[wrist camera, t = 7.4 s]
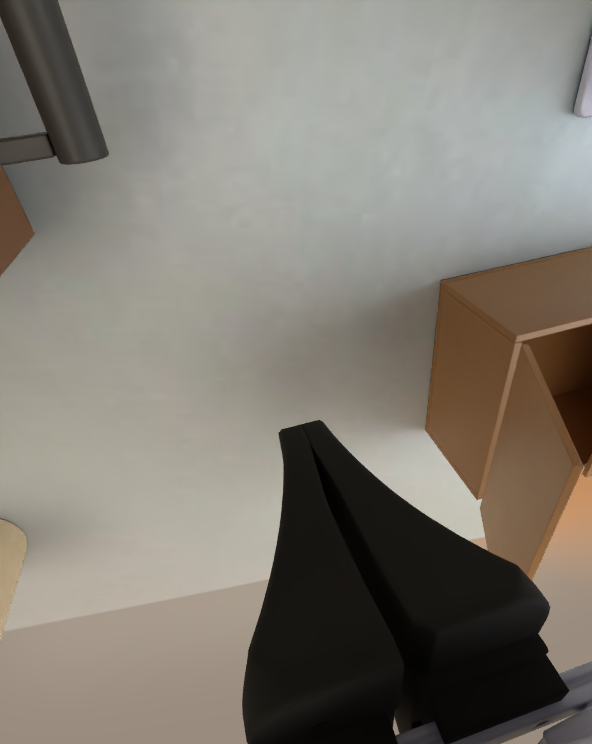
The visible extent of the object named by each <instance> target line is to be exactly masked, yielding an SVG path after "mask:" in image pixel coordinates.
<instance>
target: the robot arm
mask: <svg viewBox="0 0 592 744" xmlns="http://www.w3.org/2000/svg"><path fill="white" fill-rule="evenodd" d="M574 113H575V115H576V116H577V117H583V118H587V117H592V37H591V41H590V45H589V50H588V54H587V58H586V62H585V66H584V70H583V74H582V78H581V82H580V86H579V90H578V94H577V99H576V103H575V107H574ZM279 438H280V444H281V450H282V456H283V464H284V480H283V499H282V511H281V520H280V527H279V534H278V540H277V546H276V551H275V556H274V561H273V566H272V570H271V575H270V579H269V583H268V587H267V591H266V594H265V598H264V602H263V606H262V609H261V613H260V616H259V619H258V622H257V625H256V629H255V632H254V635H253V638H252V641H251V644H250V647H249V650H248V659H247V665H246V672H245V680H244V687H243V700H242V706H243V707H242V709H243V720H244V726H245V733H246V740H247V743H248V744H501V743H503V742H506V741H508V740H511V739H513V738H516V737H518V736H521V735H523V734H526V733H528V732H531V731H533V730H536V729H539V728H541V727H544V726H546V725H549V724H551V723H554V722H556V721H559V720H561V719H564V718H566V717H569V716H571V715H573V716H571V717H569V718H568V719H566V720H564V721H562V722H560V723H558V724H557V725H554V726H553V727H551V728H549V729H547V730H545V731H544V732H543V738H542V739H541V740H540V742H539V743H538V744H592V662H589V663H586V664H583V665H581V666H578V667H576V668H573V669H570V670H568V671H565V672H562V673H560V674H558V672H557V671H556V669H555V668H554V666H553V665H552V663H551V661H550V660H549V659H548V657H547V655H546V654H547V653H548V648H547V646H546V644H545V643H544V641H543V640H542V639H541V637H540V636H539V634H538V633H539V631H540V630H541V627H542V626H543V624H544V623H545V621H546V619H547V617H548V614H549V611H550V606H549V603H548V601H547V600H546V598H545V597H544V596H543V594H542V593H541V592H540V590H539V589H538V588H537V586H536V585H535V584H534V583H533V582H532V581H531V580H530V578H529V577H528V576H527V575H526V574H525V573H524V572H523V571H522V570H521V568H520V567H519V566H518V565H516V564H514V563H512V562H510V561H508V560H506V559H503V558H501V557H499V556H497V555H495V554H493V553H491V552H489V551H487V550H485V549H483V548H481V547H479V546H477V545H475V544H474V543H472V542H470V541H468V540H466V539H465V538H463V537H461V536H459V535H457V534H456V533H454V532H453V531H451V530H449V529H448V528H446V527H444V526H443V525H441V524H439V523H438V522H436V521H435V520H433V519H431V518H430V517H428V516H427V515H425V514H424V513H422V512H421V511H419V510H418V509H416V508H415V507H414V506H412V505H411V504H409V503H408V502H407V501H405V500H404V499H403V498H401V497H400V496H398V495H397V494H396V493H395V492H393V491H392V490H391V489H390V488H388V487H387V486H386V485H385V484H384V483H382V482H381V481H380V480H379V479H378V478H377V477H375V476H374V475H373V474H372V473H371V472H370V471H369V470H368V469H366V468H365V467H364V466H363V465H362V464H361V463H360V462H359V461H358V460H357V459H356V458H355V457H354V456H353V455H352V454H351V453H350V452H349V451H348V450H347V449H346V448H345V447H344V446H343V445H342V444H341V443H340V442H339V440H338V439H337V438H336V437H335V436H334V435H333V434H332V432H331V431H330V430H329V429H328V428H327V426H326V425H325V424H324V423H323V422H322V421H321V420H317V421H313V422H309V423H305V424H301V425H297V426H293V427H289V428H286V429H282V430H281V431H280V432H279ZM576 713H577V714H576ZM574 714H575V715H574ZM394 717H395V720H396V723H397V726H398V730H399V733H400V734H398V735H396V736H395V734H394V731H393V722H394V721H393V720H394Z"/></svg>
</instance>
